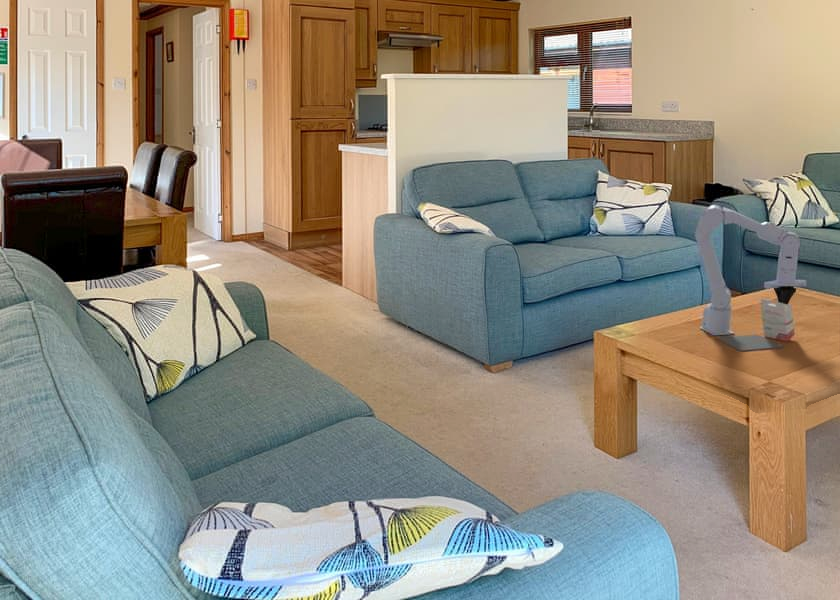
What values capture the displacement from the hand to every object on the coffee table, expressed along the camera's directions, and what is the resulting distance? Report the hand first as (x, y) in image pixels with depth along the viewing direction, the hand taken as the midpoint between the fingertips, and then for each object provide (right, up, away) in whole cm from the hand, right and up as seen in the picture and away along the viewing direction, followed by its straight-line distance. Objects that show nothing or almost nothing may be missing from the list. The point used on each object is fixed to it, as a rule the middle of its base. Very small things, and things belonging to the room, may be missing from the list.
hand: (782, 308), depth 258 cm
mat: (-12, -12, -3) cm, 17 cm away
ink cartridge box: (0, -9, +2) cm, 10 cm away
